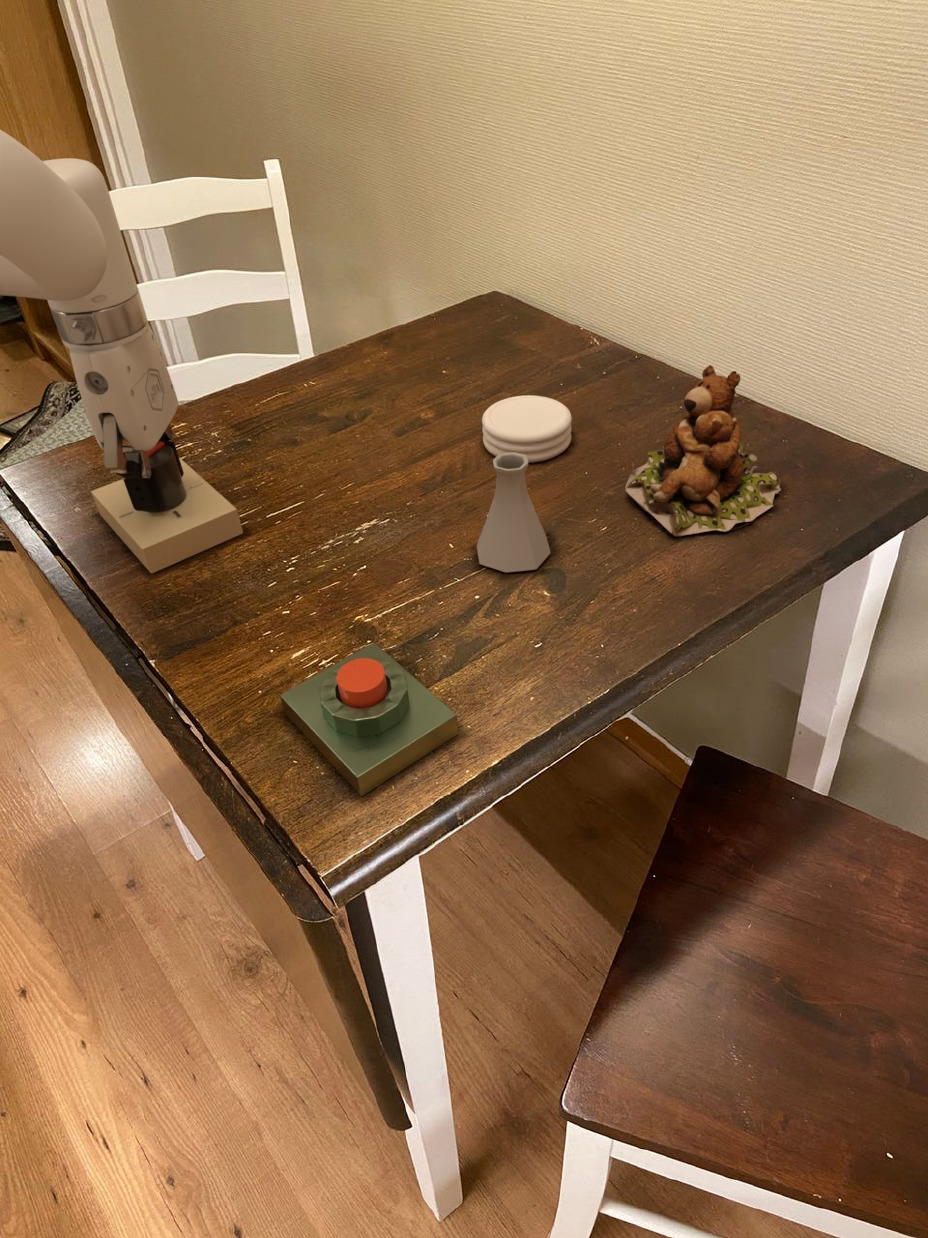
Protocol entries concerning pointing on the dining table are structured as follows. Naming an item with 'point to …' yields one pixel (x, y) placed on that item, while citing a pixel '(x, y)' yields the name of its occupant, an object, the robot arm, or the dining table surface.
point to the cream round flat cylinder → (527, 427)
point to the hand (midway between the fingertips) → (159, 491)
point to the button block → (370, 722)
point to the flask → (512, 521)
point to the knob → (165, 474)
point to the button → (362, 683)
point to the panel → (170, 522)
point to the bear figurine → (704, 467)
